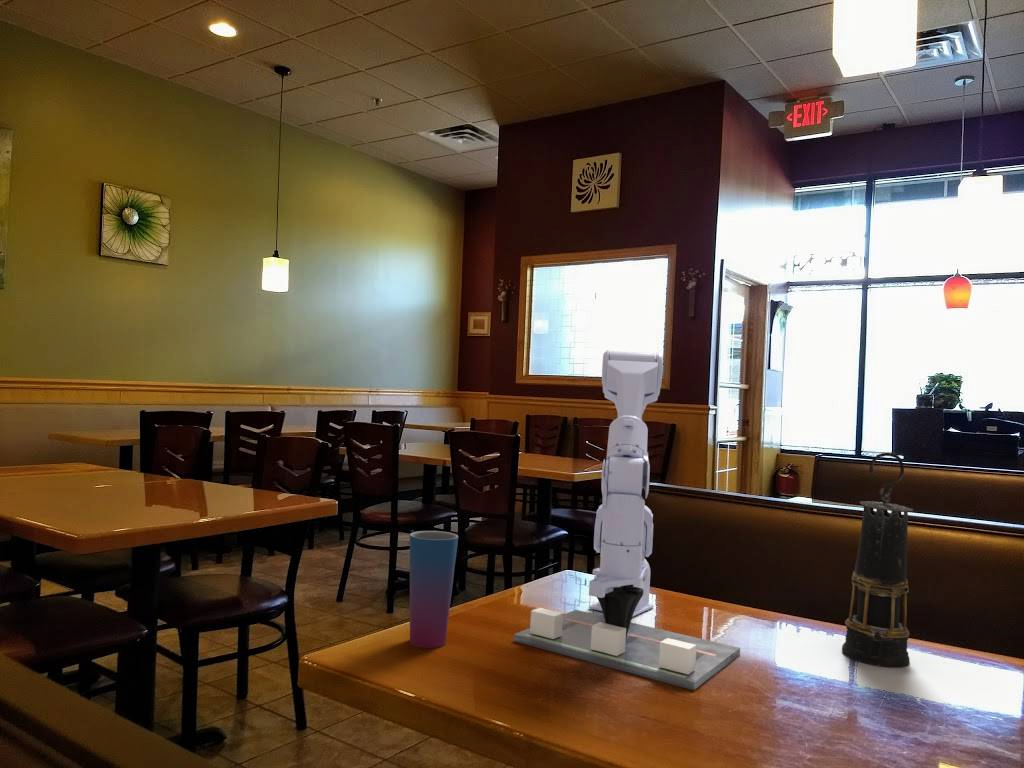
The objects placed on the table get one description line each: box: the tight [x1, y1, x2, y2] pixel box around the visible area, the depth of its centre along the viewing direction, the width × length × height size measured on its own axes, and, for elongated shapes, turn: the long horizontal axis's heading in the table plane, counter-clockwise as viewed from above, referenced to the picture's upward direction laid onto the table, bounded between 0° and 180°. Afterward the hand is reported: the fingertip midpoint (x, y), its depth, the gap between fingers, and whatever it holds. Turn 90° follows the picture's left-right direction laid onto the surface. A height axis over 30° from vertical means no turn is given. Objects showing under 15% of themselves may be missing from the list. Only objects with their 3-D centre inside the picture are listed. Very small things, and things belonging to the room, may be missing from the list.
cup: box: [409, 530, 459, 649], centre depth 107 cm, size 7×7×15 cm
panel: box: [513, 609, 741, 691], centre depth 109 cm, size 18×27×1 cm, turn 56°
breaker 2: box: [659, 638, 696, 675], centre depth 98 cm, size 2×4×3 cm, turn 56°
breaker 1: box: [529, 607, 564, 639], centre depth 110 cm, size 2×4×3 cm, turn 56°
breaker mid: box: [591, 622, 626, 656], centre depth 104 cm, size 2×4×3 cm, turn 56°
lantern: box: [841, 452, 914, 669], centre depth 112 cm, size 9×9×30 cm
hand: (616, 639), depth 106 cm, fingers closed
